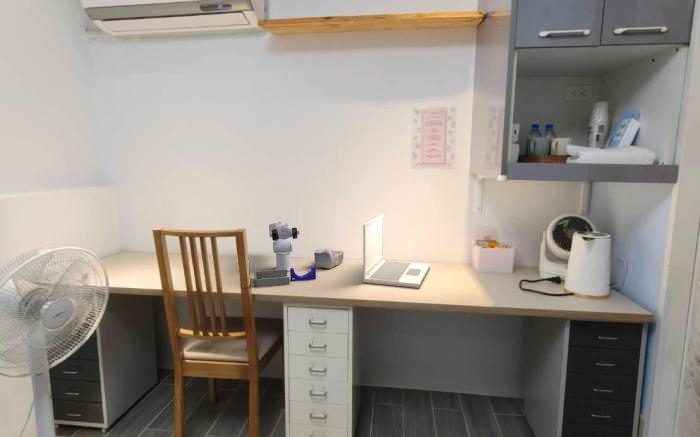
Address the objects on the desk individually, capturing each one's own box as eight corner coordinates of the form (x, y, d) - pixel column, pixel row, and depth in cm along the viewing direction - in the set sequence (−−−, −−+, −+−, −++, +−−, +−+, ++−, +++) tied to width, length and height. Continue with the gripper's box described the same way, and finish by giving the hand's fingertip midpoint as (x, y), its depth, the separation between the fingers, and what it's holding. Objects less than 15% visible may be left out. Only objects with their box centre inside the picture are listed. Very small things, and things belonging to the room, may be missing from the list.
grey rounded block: (311, 249, 209) (323, 242, 228) (312, 269, 210) (323, 260, 229) (335, 250, 206) (345, 243, 225) (335, 270, 207) (345, 261, 226)
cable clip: (314, 277, 197) (314, 265, 196) (316, 279, 193) (315, 267, 192) (290, 279, 194) (289, 267, 193) (291, 281, 190) (290, 269, 189)
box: (254, 278, 195) (253, 271, 194) (287, 275, 198) (287, 269, 198) (254, 287, 181) (253, 279, 181) (289, 284, 185) (289, 277, 184)
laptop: (419, 289, 178) (420, 227, 174) (362, 283, 186) (362, 224, 182) (429, 269, 210) (431, 216, 206) (381, 265, 219) (381, 214, 215)
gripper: (268, 225, 199) (270, 229, 186) (297, 223, 202) (300, 226, 189) (269, 239, 200) (271, 244, 187) (298, 236, 203) (301, 241, 190)
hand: (286, 236), depth 188 cm, fingers open, 7 cm apart
